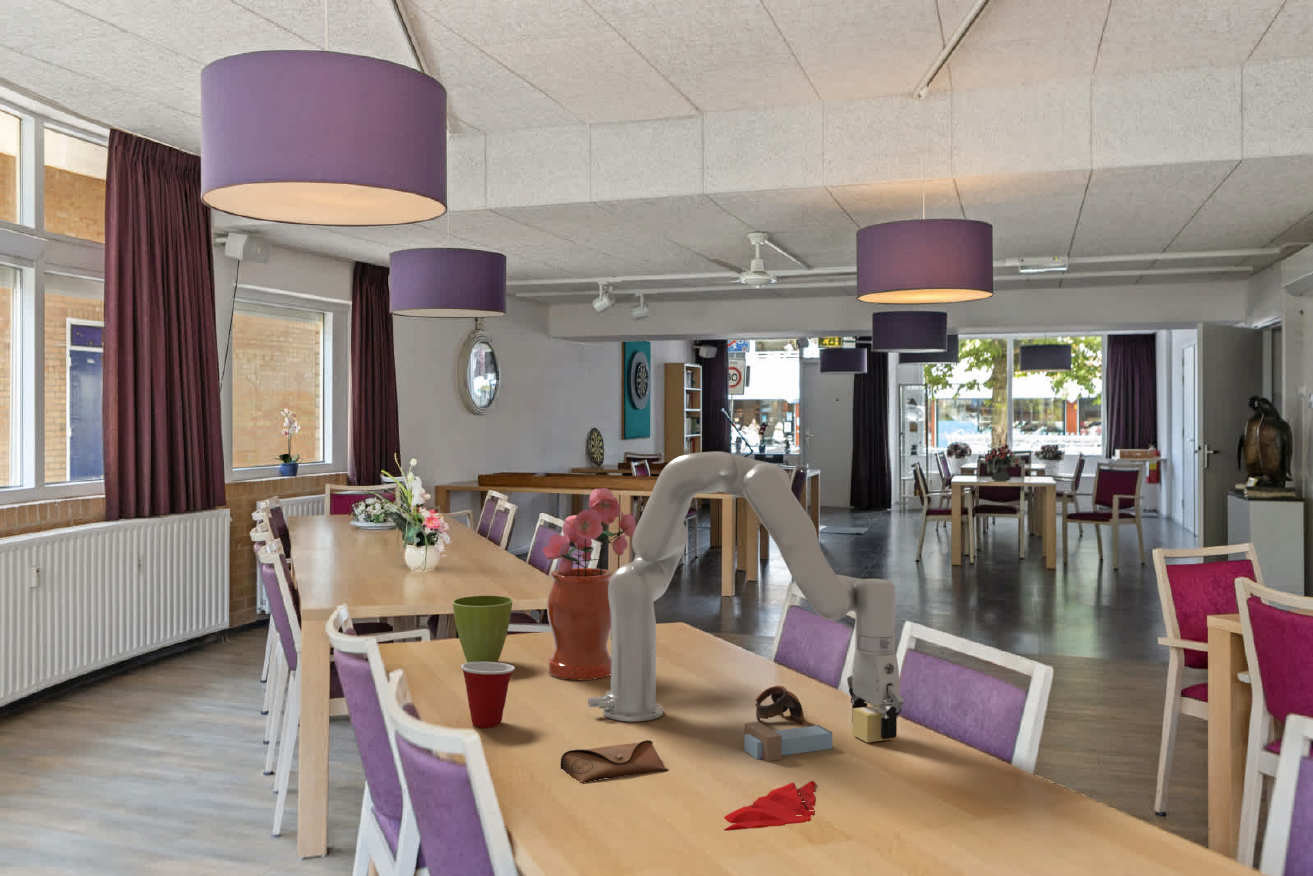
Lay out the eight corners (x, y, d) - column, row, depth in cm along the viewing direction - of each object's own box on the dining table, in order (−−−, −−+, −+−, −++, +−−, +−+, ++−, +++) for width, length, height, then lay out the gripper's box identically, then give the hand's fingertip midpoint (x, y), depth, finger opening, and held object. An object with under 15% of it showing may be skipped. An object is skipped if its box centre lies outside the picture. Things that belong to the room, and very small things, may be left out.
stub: (867, 742, 193) (867, 715, 192) (852, 734, 197) (852, 708, 197) (893, 739, 195) (893, 711, 195) (878, 731, 199) (878, 705, 199)
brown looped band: (811, 731, 202) (793, 698, 200) (768, 749, 204) (750, 716, 202) (804, 700, 214) (787, 668, 212) (764, 717, 215) (747, 686, 213)
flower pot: (484, 674, 243) (484, 608, 243) (439, 665, 251) (439, 601, 251) (524, 661, 256) (524, 599, 256) (480, 654, 264) (480, 593, 264)
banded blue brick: (762, 762, 182) (762, 738, 182) (739, 747, 190) (739, 724, 190) (838, 752, 188) (838, 728, 188) (812, 737, 196) (813, 715, 196)
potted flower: (652, 672, 246) (653, 488, 245) (567, 689, 230) (568, 492, 229) (605, 658, 261) (607, 484, 260) (522, 673, 244) (523, 488, 244)
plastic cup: (525, 723, 204) (525, 664, 204) (482, 735, 196) (482, 674, 196) (492, 712, 211) (492, 655, 211) (449, 723, 203) (449, 664, 203)
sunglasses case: (577, 785, 169) (570, 745, 172) (564, 794, 175) (557, 755, 178) (672, 770, 177) (664, 732, 180) (657, 779, 183) (649, 742, 186)
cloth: (746, 848, 147) (746, 832, 147) (686, 818, 158) (686, 803, 158) (864, 807, 163) (865, 793, 163) (803, 782, 174) (803, 769, 174)
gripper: (918, 651, 189) (917, 741, 189) (865, 633, 205) (864, 716, 205) (884, 654, 186) (883, 746, 187) (834, 635, 202) (833, 720, 203)
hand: (873, 730), depth 196 cm, fingers open, 9 cm apart
